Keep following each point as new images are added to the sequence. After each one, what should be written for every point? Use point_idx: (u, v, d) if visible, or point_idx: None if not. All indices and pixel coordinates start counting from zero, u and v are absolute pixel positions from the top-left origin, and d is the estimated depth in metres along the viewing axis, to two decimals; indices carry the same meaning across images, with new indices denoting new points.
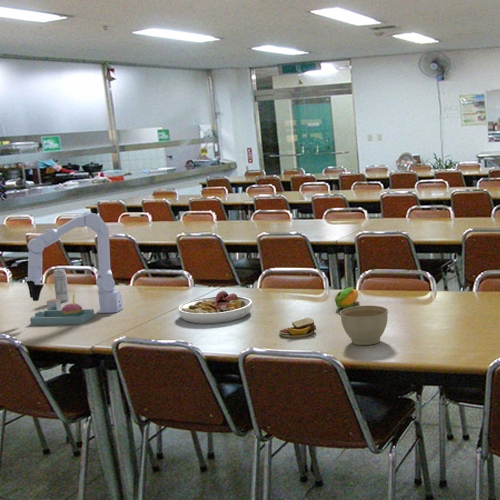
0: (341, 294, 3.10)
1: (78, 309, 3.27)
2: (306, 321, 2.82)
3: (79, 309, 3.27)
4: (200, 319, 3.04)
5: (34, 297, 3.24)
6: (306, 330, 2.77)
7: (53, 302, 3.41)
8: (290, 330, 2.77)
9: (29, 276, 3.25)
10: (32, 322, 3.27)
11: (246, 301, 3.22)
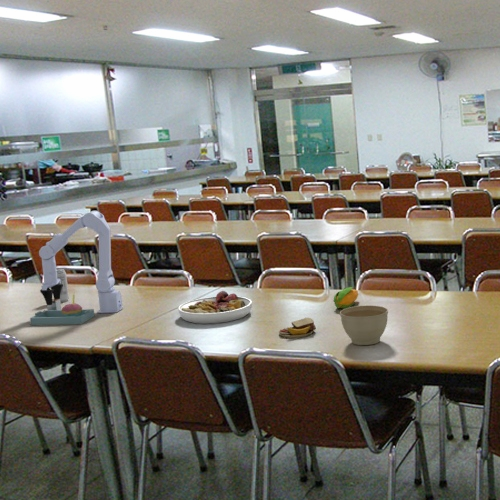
0: (340, 294, 3.11)
1: (78, 309, 3.27)
2: (305, 321, 2.83)
3: (79, 309, 3.27)
4: (200, 319, 3.04)
5: (47, 301, 3.39)
6: (306, 330, 2.77)
7: (53, 302, 3.41)
8: (290, 330, 2.77)
9: (44, 281, 3.41)
10: (32, 322, 3.27)
11: (246, 301, 3.22)
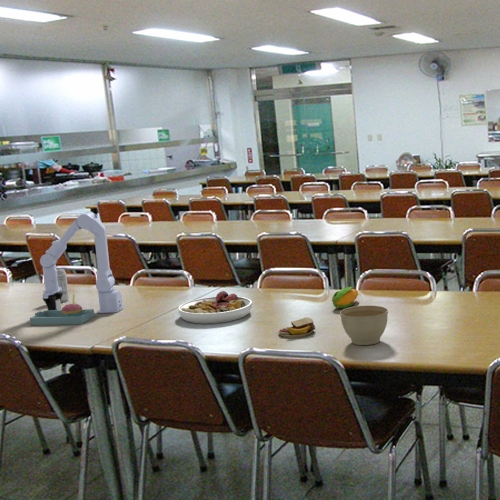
0: (338, 294, 3.11)
1: (78, 309, 3.27)
2: (305, 321, 2.83)
3: (79, 309, 3.27)
4: (200, 319, 3.04)
5: (49, 309, 3.41)
6: (306, 329, 2.78)
7: None
8: (290, 330, 2.77)
9: (45, 289, 3.42)
10: (32, 322, 3.27)
11: (246, 301, 3.22)
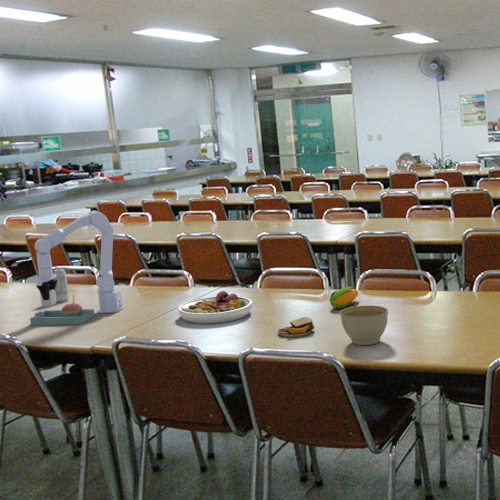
0: (335, 293, 3.12)
1: (78, 309, 3.27)
2: (304, 320, 2.84)
3: (79, 309, 3.27)
4: (200, 319, 3.04)
5: (43, 297, 3.29)
6: (305, 329, 2.79)
7: None
8: (289, 329, 2.78)
9: (39, 276, 3.29)
10: (32, 322, 3.27)
11: (246, 301, 3.22)
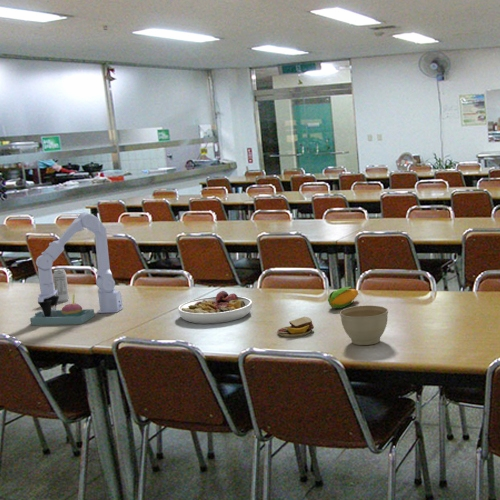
0: (333, 293, 3.13)
1: (78, 309, 3.27)
2: (303, 320, 2.84)
3: (79, 309, 3.27)
4: (200, 319, 3.04)
5: (45, 313, 3.28)
6: (305, 329, 2.79)
7: None
8: (289, 329, 2.78)
9: None
10: (32, 322, 3.27)
11: (246, 301, 3.22)
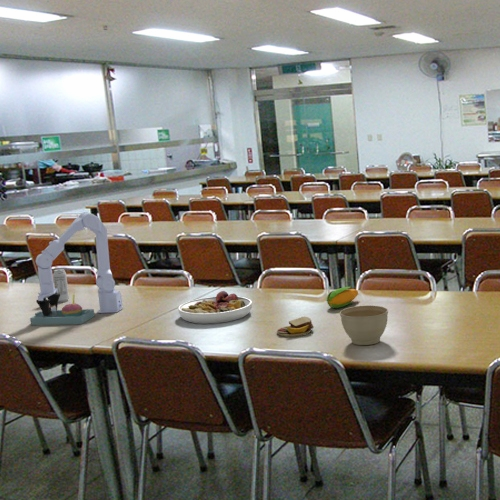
0: (332, 293, 3.13)
1: (78, 309, 3.27)
2: (303, 320, 2.84)
3: (79, 309, 3.27)
4: (200, 319, 3.04)
5: (44, 312, 3.27)
6: (304, 328, 2.79)
7: None
8: (289, 329, 2.78)
9: None
10: (32, 322, 3.27)
11: (246, 301, 3.22)
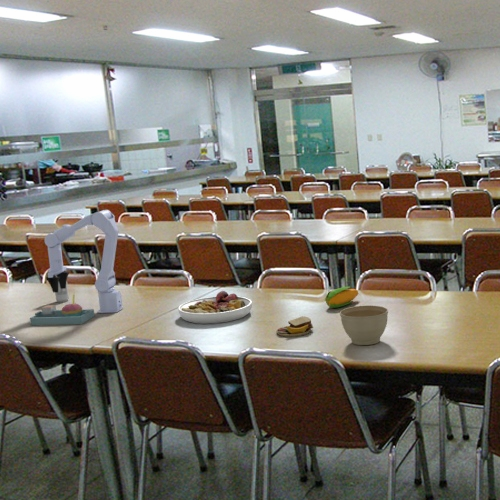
0: (330, 293, 3.14)
1: (78, 309, 3.27)
2: (302, 320, 2.85)
3: (79, 309, 3.27)
4: (200, 319, 3.04)
5: (53, 289, 3.41)
6: (304, 328, 2.80)
7: (48, 309, 3.29)
8: (289, 329, 2.79)
9: (50, 269, 3.43)
10: (32, 322, 3.27)
11: (246, 301, 3.22)
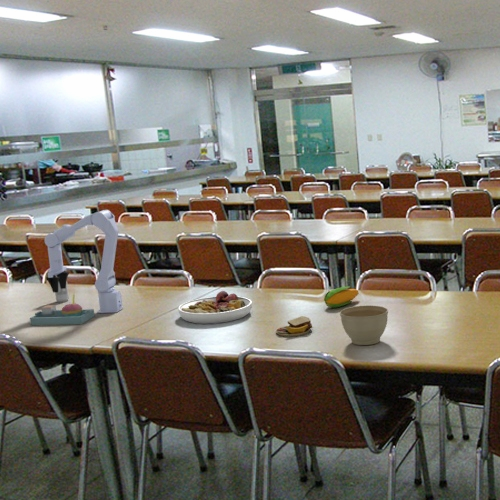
0: (329, 293, 3.15)
1: (78, 309, 3.27)
2: (302, 319, 2.85)
3: (79, 309, 3.27)
4: (200, 319, 3.04)
5: (53, 289, 3.41)
6: (304, 328, 2.80)
7: (48, 309, 3.29)
8: (288, 329, 2.79)
9: (50, 269, 3.43)
10: (32, 322, 3.27)
11: (246, 301, 3.22)
